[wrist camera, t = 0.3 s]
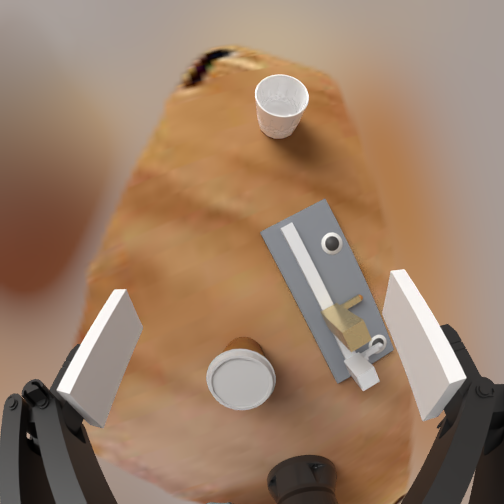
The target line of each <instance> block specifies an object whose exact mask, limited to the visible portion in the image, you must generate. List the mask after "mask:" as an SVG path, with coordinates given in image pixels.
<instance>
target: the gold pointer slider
mask: <svg viewBox="0 0 504 504" xmlns="http://www.w3.org/2000/svg"><path fill="white" fill-rule="evenodd" d="M362 299H363V296H362V295H360V294H358V295H356V296H355V297H353V298H351V299H350V300H348V301H346V302H345V303H343V304H341V305H339V304H338V303H335V304H333V305H332V306H330V307H328V308H326V309H325V310H323V311H321V312H320V313H321V315H322V317H323V319H324V321H325V323H326V325H327V327H328V328H329V329H330V330H331V332H332V333H333V334H334V335H335V336H336V337H337V338H338V339H339V340H340V341H341V342H342V343H343V344H344V345H345V346H346V347H347V348H348V349H349V350H350V352H353V351H355V350H356V349H358V348H360V347H361V346H363V345H365V344H366V343H368V342H370V341H371V340H372V339H371V336H370V334H369V331H368V329H367V327H366V324H365V322H364V320H363V319H361V318H360V317H358V316H357V315H355V314H353V313H352V312H350V311H349V310H347V309H349V308H350V307H352V306H354V305H355V304H357V303H359V302H360V301H362Z"/></svg>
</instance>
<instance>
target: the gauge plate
mask: <svg viewBox="0 0 504 504" xmlns="http://www.w3.org/2000/svg"><path fill="white" fill-rule="evenodd" d="M260 234H261V235H262V237H263V239H264V241H265V243H266V245H267V247H268V249H269V251H270V253H271V254H272V256H273V258H274V260H275V262H276V264H277V266H278V268H279V270H280V272H281V274H282V276H283V278H284V279H285V281H286V283H287V285H288V287H289V289H290V291H291V293H292V295H293V297H294V299H295V301H296V303H297V305H298V307H299V309H300V311H301V312H302V314H303V316H304V318H305V320H306V322H307V324H308V326H309V328H310V330H311V332H312V334H313V336H314V338H315V340H316V342H317V344H318V346H319V348H320V350H321V352H322V354H323V356H324V358H325V360H326V362H327V364H328V366H329V368H330V370H331V372H332V374H333V376H334V378H335V380H336V382H337V383H340V382H342V381H343V380H345V379H347V378H349V377H350V376H352V378H353V379H354V380H355V382H356V383H357V384H358V386H359V387H360V388H361V389H362V391H364V390H366V389H368V388H370V387H371V386H373V385H375V384H376V383H378V382H379V381H380V380H379V378H378V375H377V373H376V371H375V368H374V366H373V365H372V363H374V362H376V361H377V360H379V359H380V358H382V357H383V356H385V355H387V354H388V353H390V352H391V351H393V350H394V349H393V346H392V344H391V341H390V338H389V336H388V333H387V331H386V328H385V326H384V323H383V321H382V318H381V316H380V313H379V311H378V308H377V306H376V304H375V301H374V299H373V297H372V294H371V292H370V290H369V287H368V285H367V283H366V281H365V278H364V276H363V274H362V272H361V270H360V267H359V265H358V263H357V261H356V259H355V257H354V255H353V253H352V250H351V248H350V246H349V244H348V242H347V240H346V238H345V236H344V234H343V232H342V230H341V228H340V226H339V224H338V222H337V220H336V218H335V216H334V215H333V213H332V211H331V209H330V207H329V205H328V203H327V201H326V199H323V200H321V201H319V202H317V203H315V204H313V205H311V206H310V207H308V208H306V209H304V210H302V211H300V212H298V213H296V214H294V215H292V216H290V217H288V218H286V219H284V220H282V221H280V222H279V223H277V224H275V225H273V226H271V227H269V228H267V229H265V230H263V231H261V232H260ZM358 294H360V295H362V296H363V299H362V301H360V302H359V303H357V304H355V305H354V306H352V307H350V308H349V309H347V310H349V311H350V312H352V313H353V314H355V315H357V316H358V317H360V318H361V319H363V320H364V322H365V324H366V327H367V329H368V331H369V334H370V336H371V339H372V340H371V341H370V342H368V343H366V344H365V345H363V346H361V347H360V348H358V349H356V350H355V351H353V352H350V350H349V349H348V348H347V347H346V346H345V345H344V344H343V343H342V342H341V341H340V340H339V339H338V338H337V337H336V336H335V335H334V334H333V333H332V332H331V330H330V329H329V328H328V327H327V325H326V323H325V321H324V319H323V317H322V315H321V313H320V312H321V311H323V310H325V309H326V308H328V307H330V306H332V305H333V304H335V303H338V304H339V305H341V304H343V303H345V302H346V301H348V300H350V299H351V298H353V297H355V296H356V295H358Z"/></svg>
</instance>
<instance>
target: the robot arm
mask: <svg viewBox="0 0 504 504" xmlns="http://www.w3.org/2000/svg"><path fill="white" fill-rule="evenodd" d="M382 315H383V317H384V319H385V322H386V324H387V326H388V329H389V331H390V333H391V336H392V338H393V341H394V343H395V346H396V348H397V351H398V353H399V356H400V358H401V361H402V364H403V366H404V369H405V372H406V374H407V377H408V380H409V383H410V385H411V388H412V391H413V394H414V397H415V400H416V403H417V406H418V409H419V412H420V415H421V418H422V421H425V420H429V419H432V418H435V417H438V416H439V415H440V413H441V412H442V411H443V410H444V411H445V414H446V416H445V417H444V419H443V420H442V421H441V422H440V423H439V425H438V426H437V428H439V427H440V426H441V427H440V430H439V432H438V434H437V437H436V439H435V441H434V443H433V446H432V448H431V450H430V452H429V454H428V456H427V458H426V460H425V462H424V464H423V466H422V468H421V470H420V472H419V474H418V476H417V477H416V479H415V481H414V483H413V484H412V486H411V488H410V490H409V491H408V493H407V495H406V496H405V498H404V499H403V501H402V503H401V504H460V503H461V502H462V499H463V497H464V495H465V493H466V491H467V488H468V486H469V484H470V481H471V479H472V477H473V474H474V472H475V476H474V481H473V486H472V491H471V495H470V500H469V504H504V384H494V383H493V382H492V381H491V380H490V379H488V378H486V377H481V375H480V374H479V372H478V370H477V368H476V366H475V364H474V362H473V361H472V359H471V357H470V355H469V353H468V351H467V349H465V346H464V344H463V342H461V339H460V337H459V335H458V334H457V332H456V331H455V330H454V329H453V328H452V327H451V326H450V325H448V324H446V325H442V326H439V324H438V322H437V321H436V319H435V317H434V315H433V314H432V312H431V310H430V309H429V307H428V305H427V304H426V302H425V300H424V299H423V297H422V296H421V294H420V292H419V291H418V289H417V288H416V286H415V285H414V283H413V282H412V280H411V278H410V277H409V275H408V274H407V273H406V271H405V269H403V270H394V271H391V272H390V278H389V283H388V289H387V294H386V298H385V303H384V308H383V312H382ZM142 330H143V326H142V324H141V322H140V320H139V318H138V315H137V313H136V311H135V309H134V306H133V304H132V302H131V299H130V297H129V295H128V292H127V290H126V289H118V290H114V291H113V292H112V294H111V296H110V297H109V299H108V300H107V302H106V303H105V305H104V307H103V308H102V310H101V311H100V313H99V315H98V316H97V318H96V320H95V321H94V323H93V325H92V326H91V328H90V330H89V331H88V333H87V335H86V336H85V338H84V340H83V342H82V343H81V344H77V345H76V346H75V347H74V348H73V349H72V350H71V351H70V353H69V355H68V356H67V358H66V361H65V362H64V364H63V367H62V368H61V369H60V371H59V373H58V375H57V377H56V378H55V380H54V382H53V384H52V386H51V388H50V390H49V389H48V388H47V387H46V386H45V385H44V384H43V383H42V382H41V381H40V380H38V379H34V380H31V381H29V382H28V383H27V384H26V385H25V386H24V388H23V390H22V397H23V398H24V399H25V400H24V399H23V398H22V397H21V396H20V395H19V394H12V395H10V396H9V397H8V398H7V400H6V402H5V405H4V410H3V418H2V427H1V438H0V504H117V502H116V500H115V498H114V496H113V494H112V492H111V490H110V488H109V486H108V484H107V482H106V479H105V477H104V475H103V473H102V470H101V468H100V466H99V464H98V461H97V459H96V456H95V454H94V451H93V448H92V446H91V443H90V440H89V438H88V435H87V432H86V429H85V427H84V425H83V424H82V421H83V419H85V420H86V421H87V422H88V423H89V424H90V425H93V426H96V427H100V428H104V425H105V422H106V420H107V417H108V414H109V411H110V409H111V406H112V403H113V401H114V398H115V395H116V393H117V390H118V388H119V385H120V382H121V380H122V377H123V375H124V372H125V370H126V367H127V365H128V363H129V360H130V358H131V355H132V353H133V351H134V348H135V346H136V344H137V341H138V339H139V337H140V334H141V332H142ZM27 433H29V434H30V439H28V438H27V437H26V434H27ZM475 469H476V470H475ZM336 479H337V474H336V470H335V467H334V465H333V463H332V462H331V461H330V460H328V459H326V458H324V457H321V456H315V455H304V456H297V457H293V458H290V459H287V460H285V461H283V462H281V463H279V464H278V465H276V466H275V467H274V468H273V469H272V470H271V471H270V473H269V474H268V478H267V485H268V490H269V492H270V494H271V495H272V497H273V499H274V500H275V502H276V503H277V504H338V502H337V499H336V497H335V493H334V492H335V486H336ZM207 504H232V503H230V502H228V503H215V502H210V503H207Z"/></svg>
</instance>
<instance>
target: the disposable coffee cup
mask: <svg viewBox="0 0 504 504" xmlns="http://www.w3.org/2000/svg"><path fill="white" fill-rule="evenodd" d="M206 379H207V385H208V388H209V390H210V392H211V393H212V395H213V396H214V398H215V399H216V400H217V401H218V402H219V403H221V404H222V405H224V406H226V407H228V408H231V409H235V410H248V409H252V408H255V407H257V406H259V405H261V404H262V403H264V402H265V401H266V400H267V399H268V398H269V396H270V395H271V394H272V392H273V390H274V387H275V384H276V375H275V371H274V369H273V367H272V365H271V364H270V362H269V361H268V360H267V359H266V358H265V356H264V354H263V352H262V350H261V347H260V345H259V344H258V343H257V342H256V341H255V340H253V339H251V338H248V337H239V338H236V339H234V340H233V341H231V342H230V343H229V344H228V346H227V347H226V348H225V350H224V351H223V352H222V353H221V354H220V355H218V356H217V357H216V358H215V359H214V360H213V361H212V362H211V364H210V365H209V368H208V370H207V377H206Z"/></svg>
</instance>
